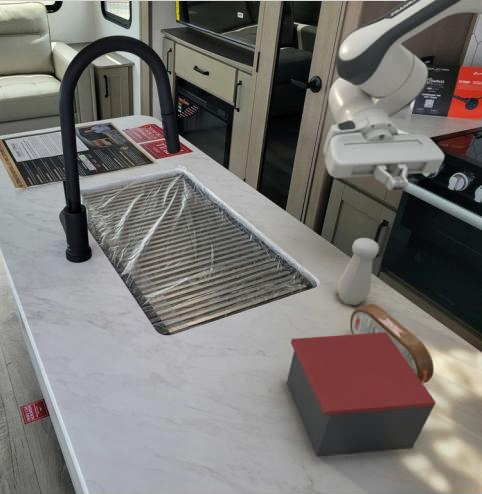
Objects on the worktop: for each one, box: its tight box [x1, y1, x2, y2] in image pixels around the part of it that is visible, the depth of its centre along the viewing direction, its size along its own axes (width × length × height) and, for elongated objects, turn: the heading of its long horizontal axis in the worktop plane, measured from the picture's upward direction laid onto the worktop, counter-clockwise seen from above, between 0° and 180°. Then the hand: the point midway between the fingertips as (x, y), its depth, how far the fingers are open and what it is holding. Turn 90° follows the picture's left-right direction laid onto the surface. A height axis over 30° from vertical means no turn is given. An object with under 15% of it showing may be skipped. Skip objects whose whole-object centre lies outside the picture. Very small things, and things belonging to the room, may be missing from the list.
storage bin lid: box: [290, 332, 437, 416], centre depth 65 cm, size 14×13×1 cm
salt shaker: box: [336, 237, 380, 306], centre depth 88 cm, size 6×6×13 cm
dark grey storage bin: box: [286, 350, 434, 457], centre depth 67 cm, size 14×13×9 cm
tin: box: [349, 303, 435, 384], centre depth 76 cm, size 15×3×8 cm, turn 22°
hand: (399, 187), depth 82 cm, fingers closed
